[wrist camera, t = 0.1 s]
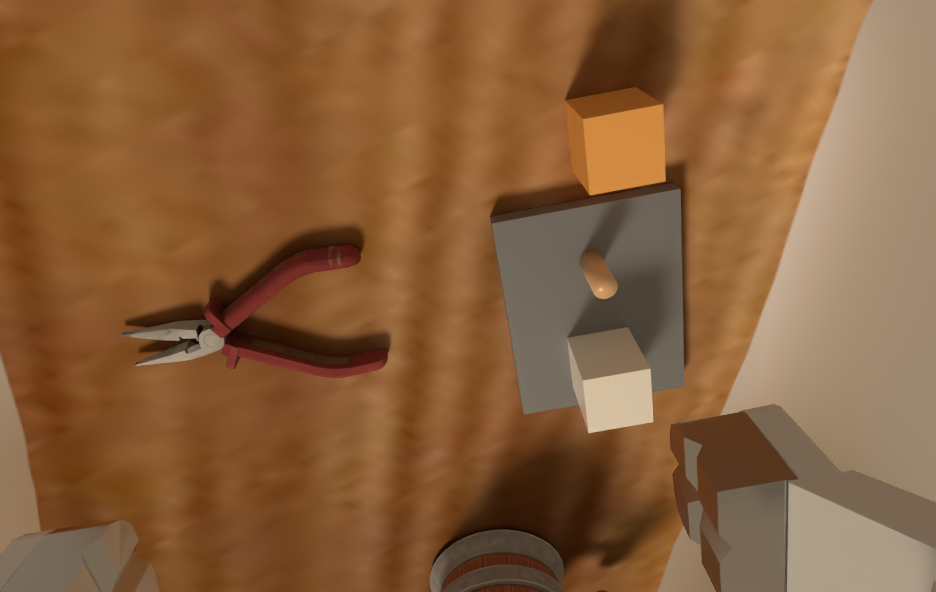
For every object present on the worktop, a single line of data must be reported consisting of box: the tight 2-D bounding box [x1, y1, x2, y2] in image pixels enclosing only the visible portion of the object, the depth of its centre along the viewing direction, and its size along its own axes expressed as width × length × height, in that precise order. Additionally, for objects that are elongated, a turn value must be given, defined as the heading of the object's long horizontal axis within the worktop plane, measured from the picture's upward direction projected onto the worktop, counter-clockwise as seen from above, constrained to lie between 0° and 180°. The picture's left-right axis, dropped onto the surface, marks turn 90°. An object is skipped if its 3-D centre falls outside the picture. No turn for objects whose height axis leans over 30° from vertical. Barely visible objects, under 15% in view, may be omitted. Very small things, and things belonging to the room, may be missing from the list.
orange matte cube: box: [565, 87, 666, 195], centre depth 44 cm, size 5×5×6 cm
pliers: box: [121, 244, 388, 378], centre depth 51 cm, size 12×20×3 cm, turn 99°
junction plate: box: [490, 182, 684, 433], centre depth 49 cm, size 18×14×8 cm
